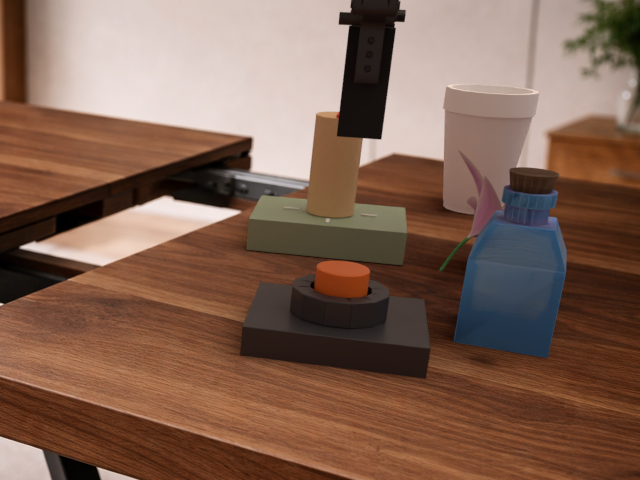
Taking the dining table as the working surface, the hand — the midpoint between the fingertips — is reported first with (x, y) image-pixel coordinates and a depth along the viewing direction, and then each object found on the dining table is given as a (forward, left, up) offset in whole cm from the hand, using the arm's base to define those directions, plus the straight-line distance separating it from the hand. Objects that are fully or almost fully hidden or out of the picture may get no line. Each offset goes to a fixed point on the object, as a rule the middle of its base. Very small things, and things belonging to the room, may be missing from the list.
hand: (360, 129), depth 61 cm
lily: (-12, -22, -15) cm, 29 cm away
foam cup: (-13, -47, -15) cm, 51 cm away
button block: (0, 0, -15) cm, 15 cm away
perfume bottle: (-12, -5, -15) cm, 20 cm away
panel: (+2, -26, -15) cm, 30 cm away
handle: (+2, -26, -12) cm, 29 cm away
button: (0, 0, -11) cm, 11 cm away
